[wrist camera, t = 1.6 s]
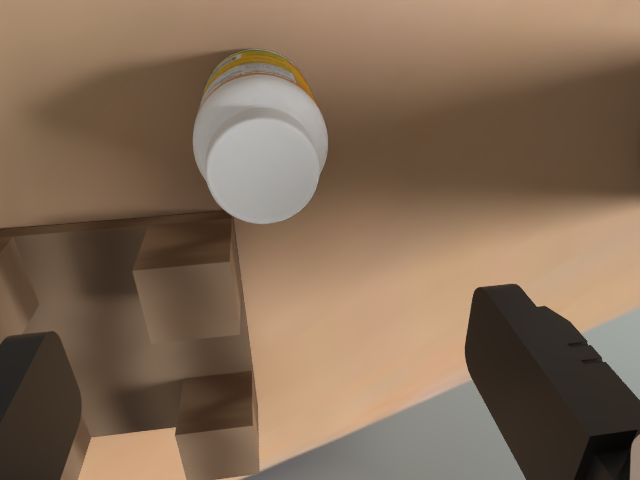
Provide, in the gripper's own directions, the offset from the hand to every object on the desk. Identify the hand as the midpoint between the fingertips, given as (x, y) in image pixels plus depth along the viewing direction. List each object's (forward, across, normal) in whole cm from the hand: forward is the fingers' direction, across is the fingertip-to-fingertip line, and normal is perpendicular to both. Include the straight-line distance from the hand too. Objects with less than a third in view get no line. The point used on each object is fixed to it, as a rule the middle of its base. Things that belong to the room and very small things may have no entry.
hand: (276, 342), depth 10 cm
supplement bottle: (+19, 0, 0) cm, 19 cm away
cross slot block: (+18, +10, +14) cm, 25 cm away
